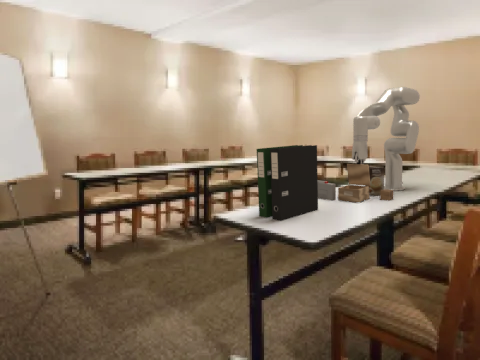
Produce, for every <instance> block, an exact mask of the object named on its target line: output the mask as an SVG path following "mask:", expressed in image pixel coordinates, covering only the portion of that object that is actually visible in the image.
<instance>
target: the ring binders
mask: <svg viewBox="0 0 480 360" xmlns="http://www.w3.org/2000/svg"><path fill="white" fill-rule="evenodd" d="M256 166H257V167H256V169H257V173H256V174H257V193H258V195H257V196H258V215H259V217H262V218H265V219H267V218H270V217H272V219H271V220H275V221H278V222H282V221H285V220H289V219H292V218H296V217H299V216H302V215H306V214H309V213H313V212H316V211H319V198H318V176H319V174H318V145H313V144H310V145H303V144H301V145H300V144H299V145H298V144H295V145H285V146H284V145H283V146H274V147H273V146H272V147H263V148H262V147H260V148H256Z"/></svg>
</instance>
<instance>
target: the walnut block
mask: <svg viewBox="0 0 480 360" xmlns="http://www.w3.org/2000/svg"><path fill="white" fill-rule="evenodd" d="M379 198H380V201H387V200H388V202H389V201H392V200H394V191H393V190H386V189H384V190H381V191H380V195H379Z"/></svg>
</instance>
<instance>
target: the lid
mask: <svg viewBox="0 0 480 360" xmlns="http://www.w3.org/2000/svg"><path fill="white" fill-rule="evenodd" d="M369 167H370V166H369V164H365V163H364V164H356V163H346V168H347V171H346V172H347V178H348V185H358V186H371V185H370V174H369Z"/></svg>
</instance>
